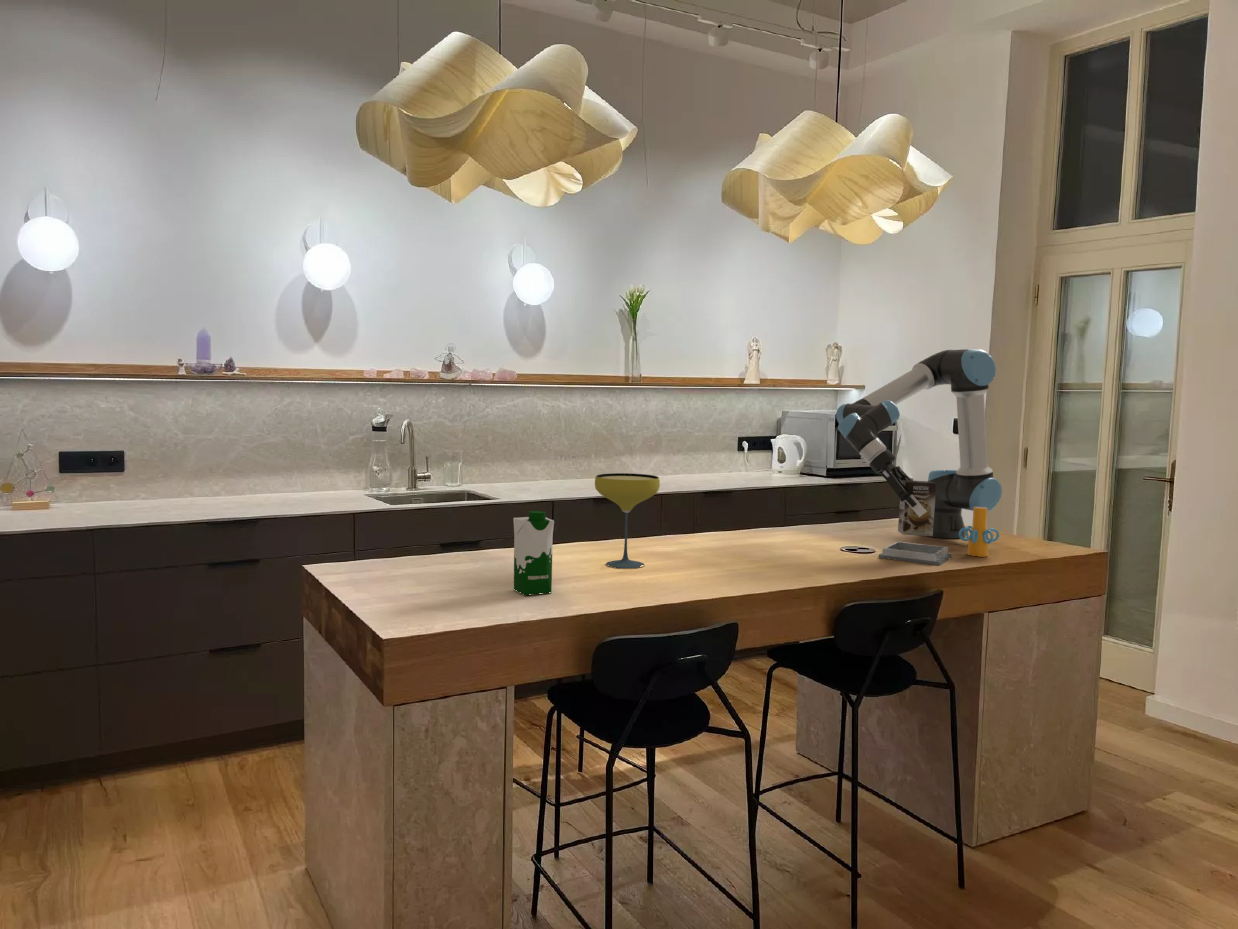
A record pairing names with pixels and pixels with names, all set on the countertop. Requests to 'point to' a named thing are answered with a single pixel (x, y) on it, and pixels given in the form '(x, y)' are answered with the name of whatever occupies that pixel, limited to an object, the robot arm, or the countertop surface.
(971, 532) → the yellow upright post
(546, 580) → the milk carton
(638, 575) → the countertop surface
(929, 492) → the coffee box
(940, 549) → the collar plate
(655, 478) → the cocktail glass
